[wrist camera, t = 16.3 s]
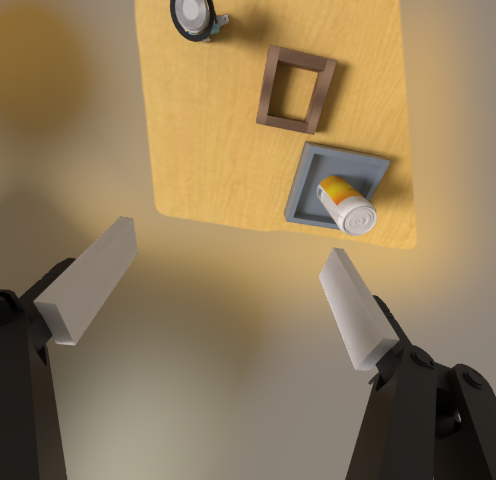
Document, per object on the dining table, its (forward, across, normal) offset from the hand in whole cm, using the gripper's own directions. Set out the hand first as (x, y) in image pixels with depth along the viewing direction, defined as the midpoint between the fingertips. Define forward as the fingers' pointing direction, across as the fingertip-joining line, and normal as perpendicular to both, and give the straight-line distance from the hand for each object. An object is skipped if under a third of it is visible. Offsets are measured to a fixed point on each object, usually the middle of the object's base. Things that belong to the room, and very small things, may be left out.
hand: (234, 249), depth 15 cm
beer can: (+34, +20, -5) cm, 40 cm away
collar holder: (+35, +7, +10) cm, 37 cm away
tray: (+35, +20, -5) cm, 40 cm away
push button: (+35, -8, +16) cm, 39 cm away
